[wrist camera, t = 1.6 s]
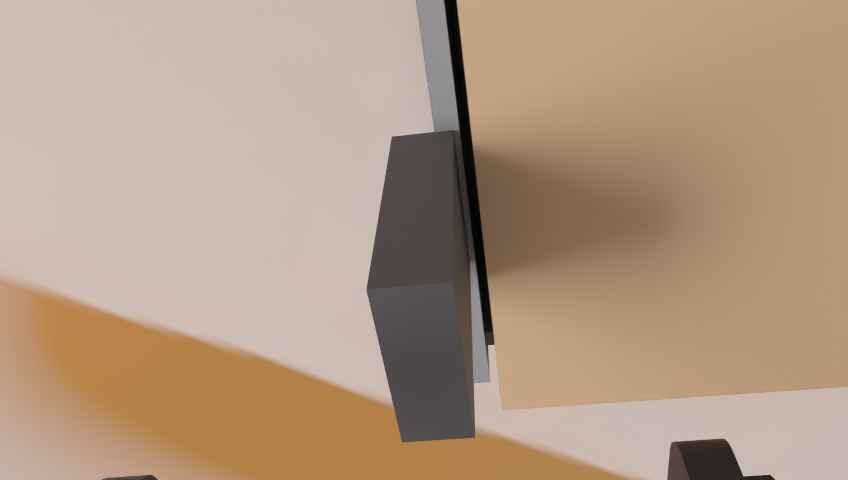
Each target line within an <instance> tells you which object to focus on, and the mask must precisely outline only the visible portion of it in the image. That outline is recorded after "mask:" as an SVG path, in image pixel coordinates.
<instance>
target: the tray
mask: <svg viewBox="0 0 848 480" xmlns="http://www.w3.org/2000/svg"><path fill="white" fill-rule="evenodd" d="M416 4H417V11H418V18H419V25H420V32H421V39H422V46H423V53H424V60H425V67H426V74H427V81H428V88H429V95H430V102H431V109H432V116H433V123H434V130H435V132H431V133H422V134H413V135H404V136H395V137H392V140H391V146H390V152H389V158H388V164H387V170H386V176H385V182H384V188H383V194H382V200H381V206H380V212H379V218H378V224H377V230H376V236H375V242H374V248H373V254H372V260H371V266H370V272H369V278H368V284H367V294H368V298H369V302H370V306H371V311H372V315H373V319H374V324H375V328H376V332H377V336H378V341H379V345H380V349H381V354H382V358H383V362H384V366H385V371H386V375H387V379H388V384H389V388H390V392H391V396H392V401H393V405H394V409H395V413H396V418H397V422H398V426H399V431H400V435H401V439H402V442H413V441H429V440H444V439H460V438H475V416H474V383H483V382H490V375H489V357H488V345H495V342H494V333H493V324H492V315H491V306H490V297H489V288H488V279H487V270H486V261H485V252H484V243H483V234H482V225H481V216H480V207H479V198H478V189H477V180H476V171H475V161H474V152H473V143H472V134H471V125H470V116H469V107H468V98H467V89H466V80H465V71H464V62H463V53H462V44H461V35H460V26H459V17H458V8H457V0H416Z"/></svg>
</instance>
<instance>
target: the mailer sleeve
mask: <svg viewBox="0 0 848 480" xmlns="http://www.w3.org/2000/svg"><path fill="white" fill-rule="evenodd" d="M457 8H458V17H459V26H460V35H461V44H462V53H463V62H464V71H465V80H466V89H467V98H468V107H469V116H470V125H471V134H472V143H473V152H474V161H475V171H476V180H477V189H478V198H479V207H480V216H481V225H482V234H483V243H484V252H485V261H486V270H487V279H488V288H489V297H490V306H491V315H492V324H493V333H494V342H495V351H496V360H497V369H498V378H499V387H500V396H501V405H502V410H510V409H524V408H539V407H554V406H569V405H584V404H599V403H614V402H628V401H643V400H658V399H673V398H688V397H703V396H717V395H732V394H747V393H762V392H777V391H792V390H806V389H821V388H836V387H848V0H457Z"/></svg>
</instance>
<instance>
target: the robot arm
mask: <svg viewBox="0 0 848 480" xmlns="http://www.w3.org/2000/svg"><path fill="white" fill-rule="evenodd" d="M103 480H157V479H156V478H155V477H154V476H152V475H145V476H144V475H143V476H129V477H113V478H105V479H103ZM667 480H775V479H774V478H773V477H772V476H771V475H762V476H745V477H743V475H742V472H741V470H740V467H739V465H738V463H737V460H736V458H735V455H734V453H733V451H732V449H731V447H730V445H729V443H728V442H727V441H726V440H725V439H711V440H696V441H681V442H672V444H671V447H670V456H669V468H668V479H667Z"/></svg>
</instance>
